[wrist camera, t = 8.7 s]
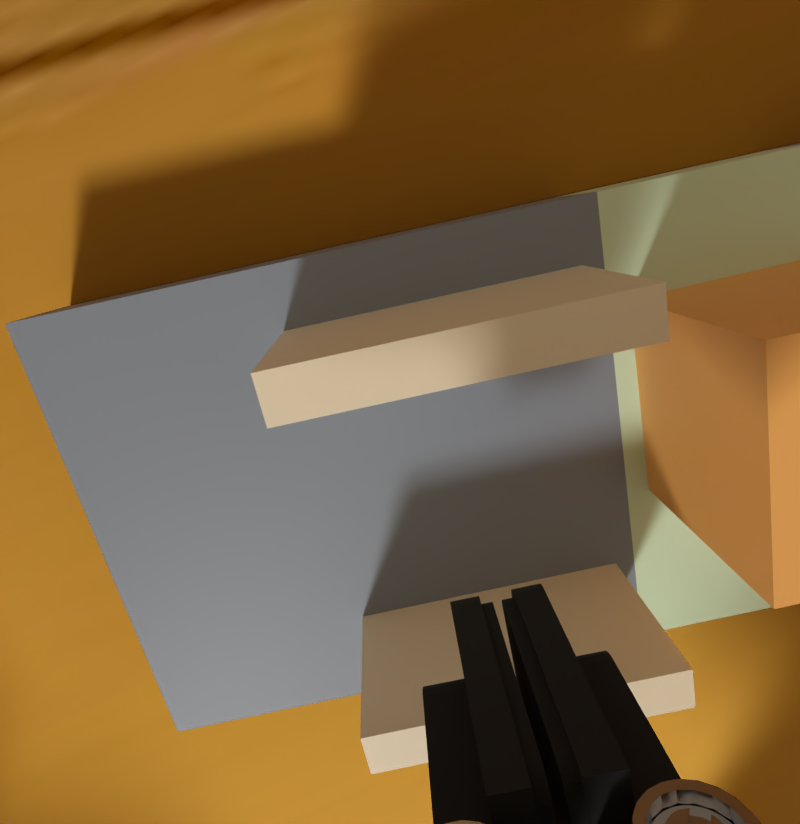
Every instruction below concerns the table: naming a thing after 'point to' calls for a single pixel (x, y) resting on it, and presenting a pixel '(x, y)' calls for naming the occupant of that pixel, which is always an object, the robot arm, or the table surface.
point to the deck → (403, 447)
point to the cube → (731, 422)
